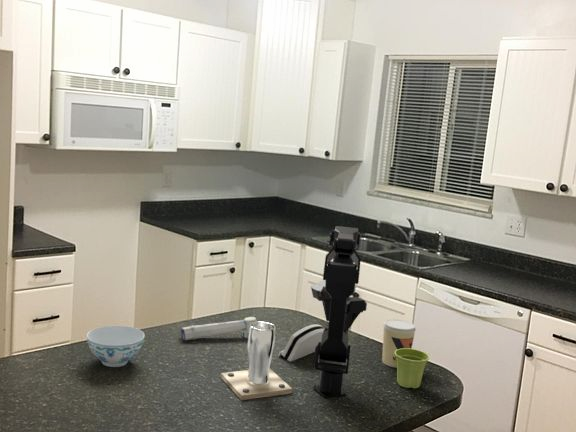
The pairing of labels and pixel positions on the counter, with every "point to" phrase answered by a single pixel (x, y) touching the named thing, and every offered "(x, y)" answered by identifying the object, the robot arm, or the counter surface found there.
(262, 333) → the metal tumbler
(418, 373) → the plant pot
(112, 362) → the chinaware
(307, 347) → the white layered curved block
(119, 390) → the counter surface
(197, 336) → the grey long bar
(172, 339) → the counter surface
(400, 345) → the cream lidded tub
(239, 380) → the bolt plate
